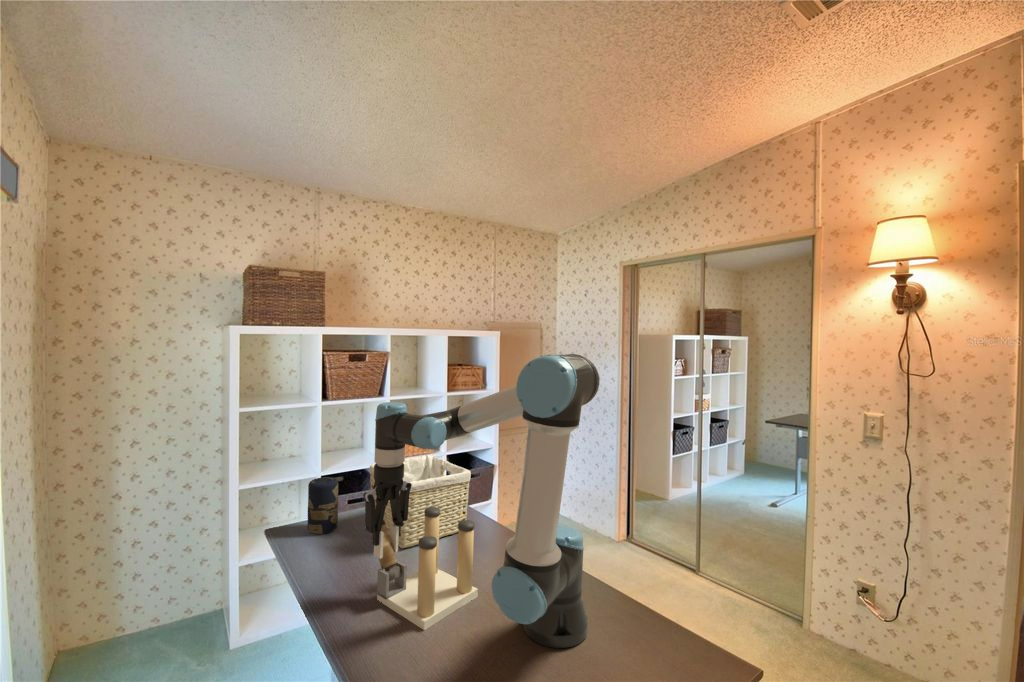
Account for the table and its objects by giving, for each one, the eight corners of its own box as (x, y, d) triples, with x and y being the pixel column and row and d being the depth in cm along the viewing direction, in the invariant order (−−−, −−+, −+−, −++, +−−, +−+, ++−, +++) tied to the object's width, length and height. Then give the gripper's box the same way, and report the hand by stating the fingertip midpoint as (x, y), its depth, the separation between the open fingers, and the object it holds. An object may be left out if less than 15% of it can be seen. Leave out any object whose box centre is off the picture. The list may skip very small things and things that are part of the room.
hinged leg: (396, 578, 118) (405, 574, 116) (382, 584, 115) (391, 580, 113) (379, 522, 123) (387, 518, 121) (365, 527, 120) (373, 522, 118)
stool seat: (477, 596, 119) (480, 523, 118) (422, 631, 104) (424, 548, 104) (431, 572, 130) (433, 505, 130) (375, 601, 115) (377, 525, 115)
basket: (430, 507, 178) (432, 451, 178) (472, 530, 159) (474, 468, 158) (364, 525, 160) (366, 463, 160) (402, 553, 140) (404, 483, 140)
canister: (330, 536, 150) (331, 482, 150) (301, 535, 150) (303, 481, 150) (341, 524, 160) (343, 473, 159) (314, 523, 160) (316, 472, 160)
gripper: (406, 454, 126) (403, 537, 127) (351, 466, 113) (347, 560, 113) (424, 459, 122) (421, 546, 122) (369, 473, 108) (365, 571, 109)
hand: (386, 553), depth 118 cm, fingers open, 4 cm apart
